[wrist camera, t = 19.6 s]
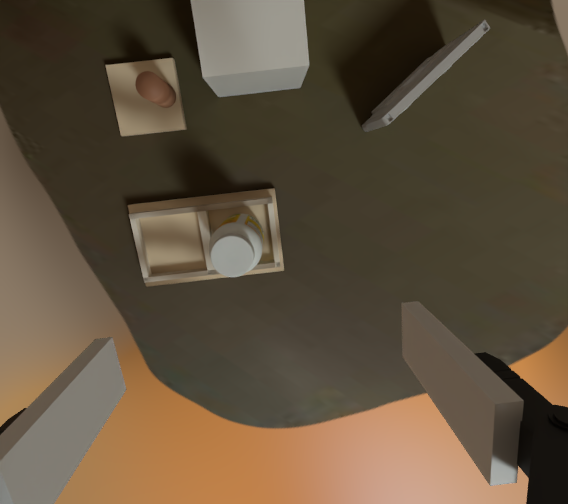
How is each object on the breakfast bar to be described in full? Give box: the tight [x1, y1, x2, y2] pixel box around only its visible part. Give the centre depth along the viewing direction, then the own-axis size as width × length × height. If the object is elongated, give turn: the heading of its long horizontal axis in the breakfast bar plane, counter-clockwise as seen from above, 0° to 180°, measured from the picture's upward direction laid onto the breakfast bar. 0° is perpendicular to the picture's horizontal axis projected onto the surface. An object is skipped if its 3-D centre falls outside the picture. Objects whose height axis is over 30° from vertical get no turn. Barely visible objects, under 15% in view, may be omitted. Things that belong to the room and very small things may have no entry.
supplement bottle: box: [209, 213, 264, 277], centre depth 36 cm, size 5×5×10 cm
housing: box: [191, 0, 309, 97], centre depth 32 cm, size 9×9×9 cm
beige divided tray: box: [128, 188, 284, 287], centre depth 40 cm, size 10×17×2 cm, turn 96°
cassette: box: [361, 20, 490, 132], centre depth 34 cm, size 12×2×8 cm, turn 134°
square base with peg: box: [105, 58, 187, 136], centre depth 34 cm, size 7×7×6 cm
